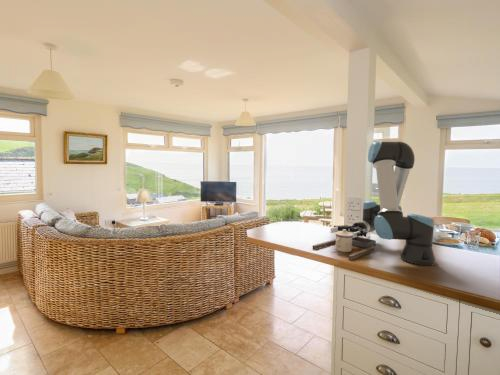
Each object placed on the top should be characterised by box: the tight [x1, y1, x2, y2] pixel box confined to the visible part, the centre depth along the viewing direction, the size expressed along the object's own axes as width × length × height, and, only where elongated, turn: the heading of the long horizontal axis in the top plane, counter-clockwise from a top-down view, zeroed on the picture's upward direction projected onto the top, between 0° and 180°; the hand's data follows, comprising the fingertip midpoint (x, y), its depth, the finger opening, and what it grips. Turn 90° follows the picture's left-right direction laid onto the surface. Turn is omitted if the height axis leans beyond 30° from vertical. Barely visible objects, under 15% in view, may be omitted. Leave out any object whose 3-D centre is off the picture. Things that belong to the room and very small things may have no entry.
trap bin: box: [352, 236, 377, 249], centre depth 171 cm, size 14×11×3 cm
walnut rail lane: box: [312, 238, 376, 261], centre depth 158 cm, size 24×25×2 cm
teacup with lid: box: [335, 229, 353, 253], centre depth 158 cm, size 12×9×12 cm
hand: (341, 232), depth 157 cm, fingers open, 13 cm apart
